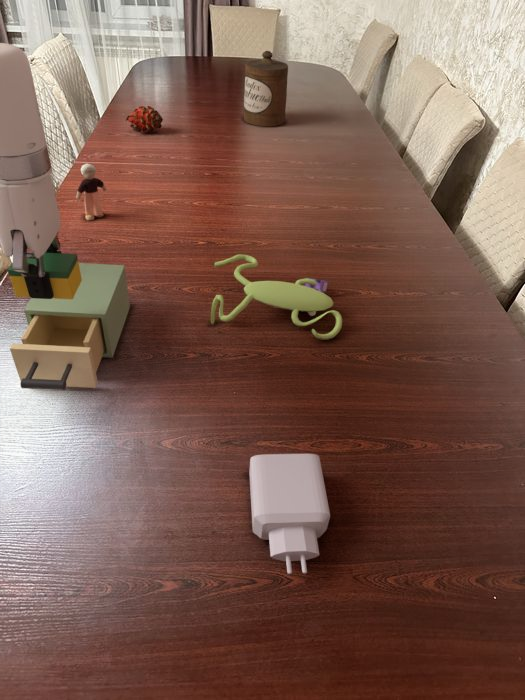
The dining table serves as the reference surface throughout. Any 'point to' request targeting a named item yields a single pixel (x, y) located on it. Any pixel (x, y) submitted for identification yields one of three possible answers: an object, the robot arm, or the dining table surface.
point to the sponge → (52, 275)
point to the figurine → (280, 296)
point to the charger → (289, 505)
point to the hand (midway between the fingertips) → (48, 284)
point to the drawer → (59, 352)
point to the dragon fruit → (145, 119)
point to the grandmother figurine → (90, 192)
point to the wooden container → (265, 91)
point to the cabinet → (92, 301)
